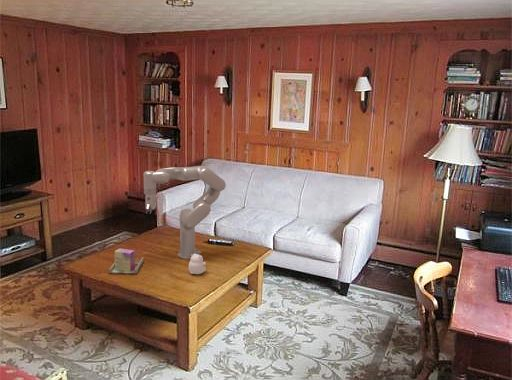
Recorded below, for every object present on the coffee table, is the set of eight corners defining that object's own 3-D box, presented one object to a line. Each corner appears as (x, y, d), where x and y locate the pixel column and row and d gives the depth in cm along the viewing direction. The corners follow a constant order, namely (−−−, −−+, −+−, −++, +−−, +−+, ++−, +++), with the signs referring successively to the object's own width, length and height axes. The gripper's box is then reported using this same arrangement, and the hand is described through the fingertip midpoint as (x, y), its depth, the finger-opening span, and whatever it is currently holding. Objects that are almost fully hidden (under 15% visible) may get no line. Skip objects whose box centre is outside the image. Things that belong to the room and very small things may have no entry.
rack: (144, 261, 272) (143, 257, 272) (136, 274, 253) (136, 270, 252) (118, 260, 272) (118, 256, 271) (108, 274, 252) (108, 269, 252)
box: (135, 268, 259) (134, 250, 256) (130, 272, 254) (129, 253, 251) (120, 266, 261) (119, 248, 259) (114, 269, 256) (114, 251, 253)
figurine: (197, 278, 251) (197, 259, 249) (184, 274, 256) (184, 255, 254) (207, 272, 260) (208, 253, 257) (195, 268, 265) (195, 250, 262)
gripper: (153, 194, 258) (153, 221, 262) (158, 187, 275) (159, 213, 279) (140, 194, 258) (141, 221, 261) (147, 187, 274) (147, 213, 278)
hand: (150, 217), depth 270 cm, fingers open, 9 cm apart
